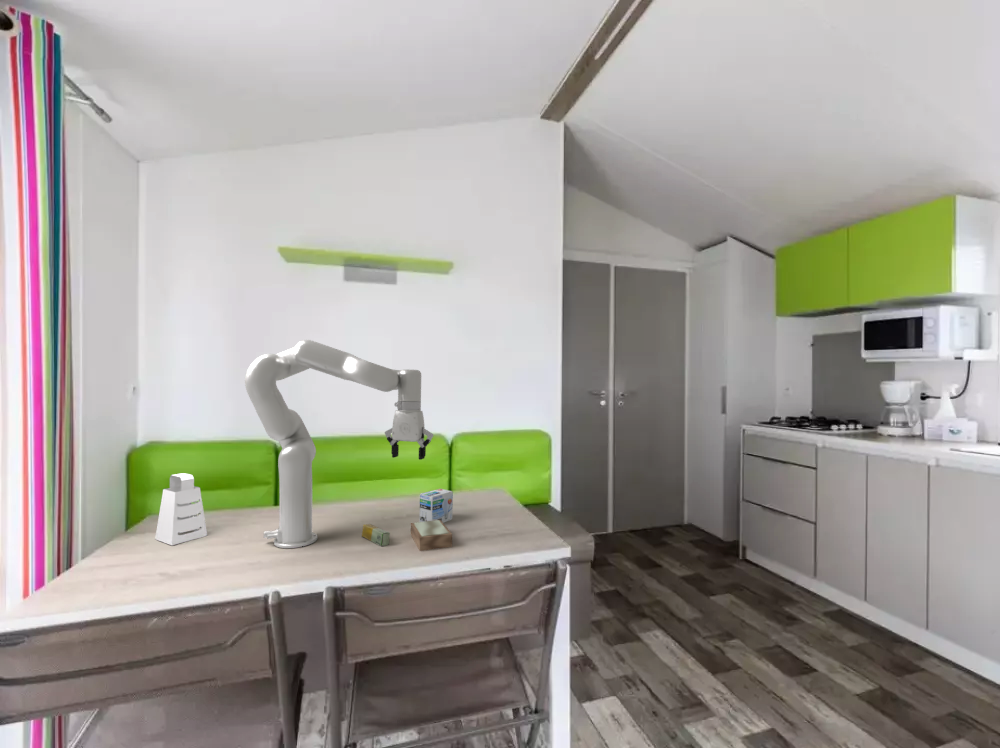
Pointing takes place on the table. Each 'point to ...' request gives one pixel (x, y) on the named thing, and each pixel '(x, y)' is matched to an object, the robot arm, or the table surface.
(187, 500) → the grater
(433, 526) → the mirror with brown frame
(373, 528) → the medication box
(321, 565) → the table surface
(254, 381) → the robot arm
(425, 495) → the light bulb box
